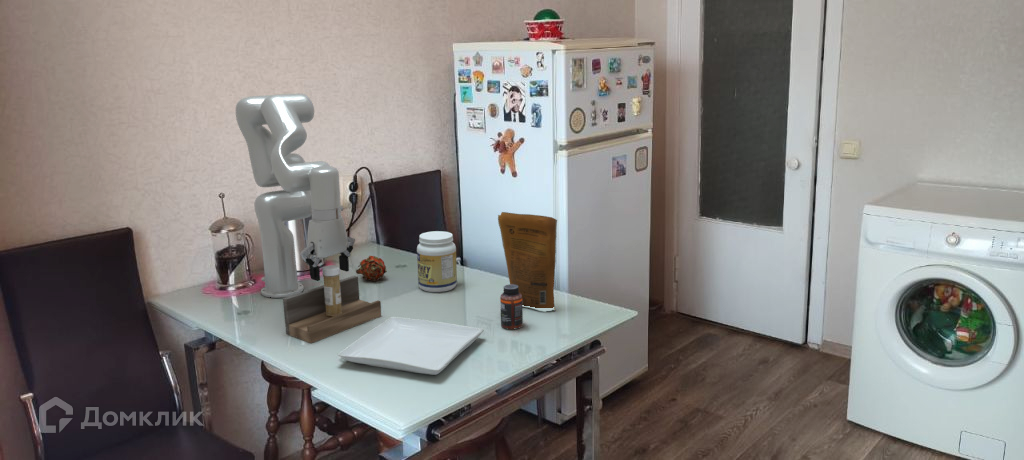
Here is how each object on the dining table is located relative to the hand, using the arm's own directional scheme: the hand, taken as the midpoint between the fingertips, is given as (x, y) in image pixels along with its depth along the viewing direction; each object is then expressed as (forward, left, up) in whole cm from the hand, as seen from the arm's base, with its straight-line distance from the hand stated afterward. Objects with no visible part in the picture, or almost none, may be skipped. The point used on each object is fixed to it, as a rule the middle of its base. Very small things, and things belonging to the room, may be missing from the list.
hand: (330, 274), depth 197 cm
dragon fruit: (-22, +33, -14) cm, 42 cm away
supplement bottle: (+40, +28, -14) cm, 51 cm away
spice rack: (+1, 0, -14) cm, 14 cm away
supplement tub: (+1, +40, -14) cm, 42 cm away
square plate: (+31, 0, -15) cm, 35 cm away
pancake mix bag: (+35, +43, -14) cm, 57 cm away
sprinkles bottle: (+1, 0, -11) cm, 11 cm away
